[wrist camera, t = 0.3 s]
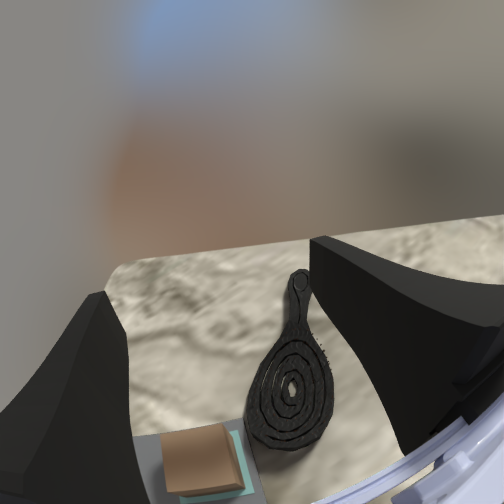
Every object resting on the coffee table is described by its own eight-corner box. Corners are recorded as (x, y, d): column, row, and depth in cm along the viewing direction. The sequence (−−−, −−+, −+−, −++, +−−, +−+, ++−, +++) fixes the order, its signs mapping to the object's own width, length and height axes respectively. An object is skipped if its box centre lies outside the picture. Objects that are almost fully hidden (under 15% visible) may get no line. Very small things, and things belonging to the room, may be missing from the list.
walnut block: (245, 488, 19) (236, 482, 16) (185, 497, 18) (167, 492, 16) (232, 436, 23) (221, 422, 21) (177, 447, 22) (159, 434, 20)
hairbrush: (332, 256, 38) (334, 447, 18) (332, 277, 40) (330, 458, 20) (270, 257, 40) (229, 440, 20) (273, 278, 42) (238, 452, 22)
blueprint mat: (285, 558, 13) (285, 559, 12) (139, 568, 12) (135, 568, 11) (243, 419, 25) (242, 417, 24) (122, 439, 24) (119, 437, 23)
